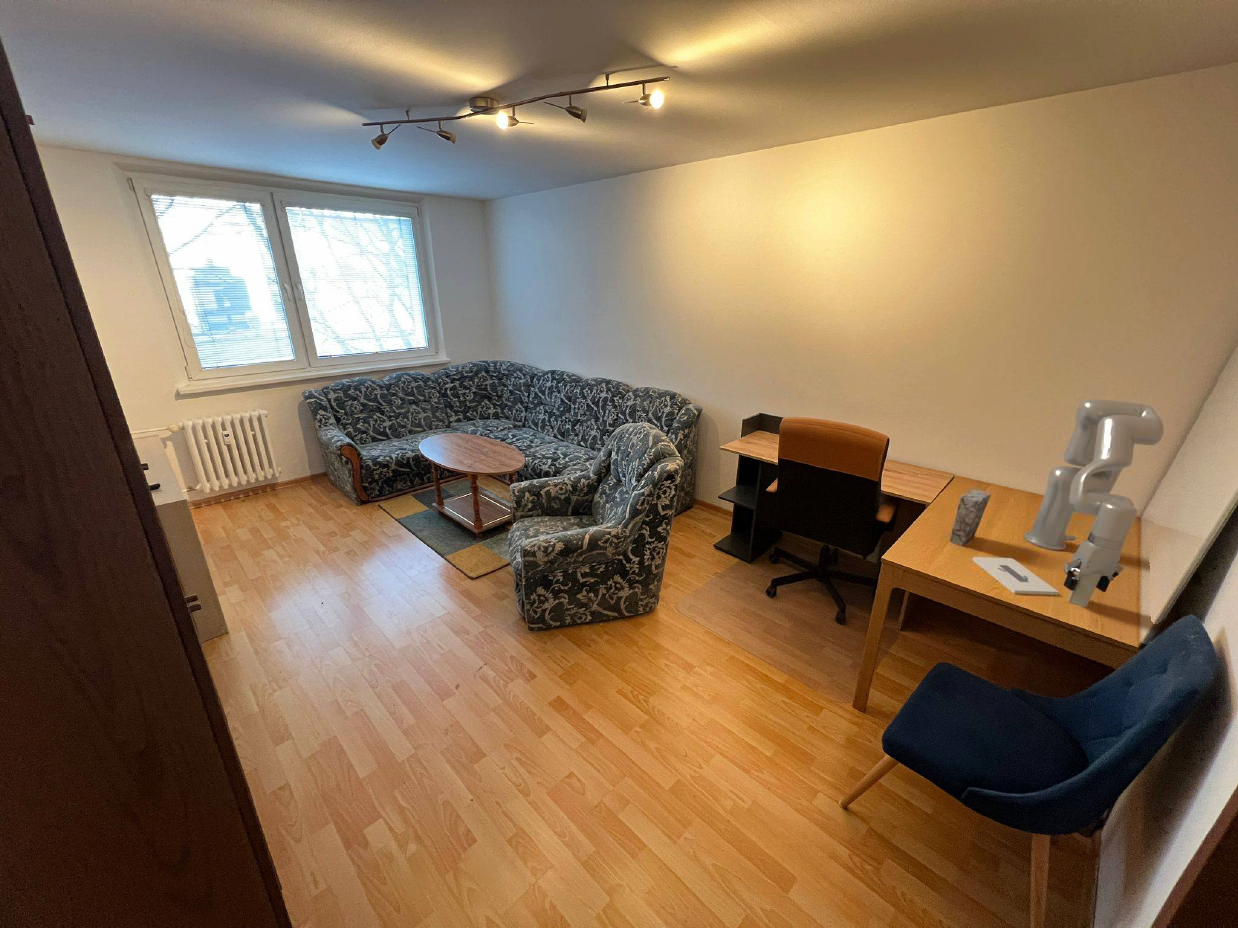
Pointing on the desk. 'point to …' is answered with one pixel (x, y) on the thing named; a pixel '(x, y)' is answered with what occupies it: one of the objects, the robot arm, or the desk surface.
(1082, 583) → the skincare box
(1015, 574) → the board
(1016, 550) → the desk surface
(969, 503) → the stone block
